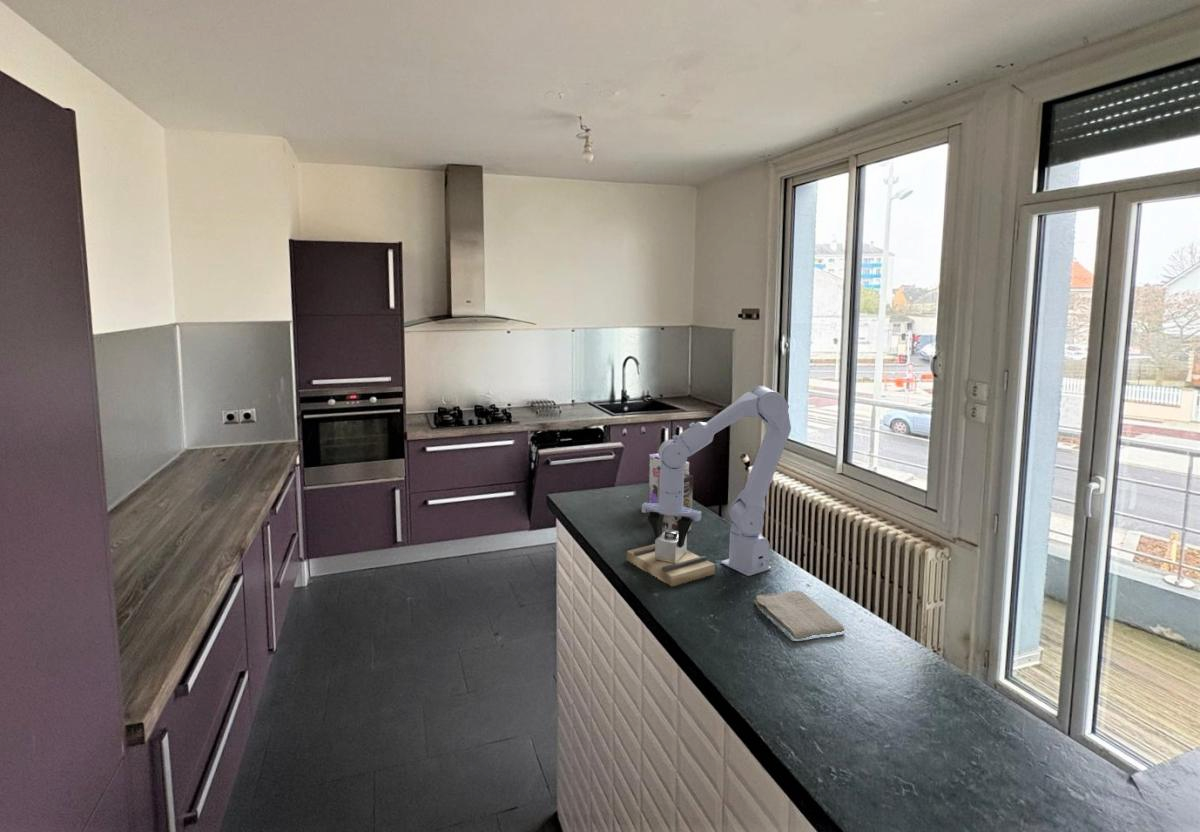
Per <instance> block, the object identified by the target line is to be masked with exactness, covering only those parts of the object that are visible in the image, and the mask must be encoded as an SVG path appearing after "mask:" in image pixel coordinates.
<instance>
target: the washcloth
mask: <svg viewBox="0 0 1200 832" xmlns="http://www.w3.org/2000/svg"><path fill="white" fill-rule="evenodd" d="M753 603H754V604H755V606H756V607H757V606H759V607H760V608H762V609H763V610H764V611H765V612H766V613H768V615H769V616H770V617H772V618H773V619H774V620H775V621H776V622H777V623H779V624H780V626H782V627H783V628H785V629H786V630H787V631H788V632H790V633H791V635H792V636H793V637H794V638H795V639H801V638H806V637H810V636H812V635H820V634H831V633H836V632H842V631H844V630H845V628H844V626H843V625H842V623H840V622H839V621H838V620H837V619H835V618H834V617H833V616H832V615H830V613H828V612H827V611H826V610H825V609H824V608H822V607H821V606H820V605H819V604H818V603H816V601H813V600H812V598H810V597H809V596H808V595H807V594H806V593H804V591H801V590H791V591H789V592H783V593H782V592H781V593H766V594H761V595H760V594H759V595H756V596H755V599H754V600H753Z"/></svg>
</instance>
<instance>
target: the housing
mask: <svg viewBox="0 0 1200 832" xmlns="http://www.w3.org/2000/svg"><path fill="white" fill-rule="evenodd" d="M678 538H679V532H678V531H675V530H668V529H667V530H666V531H665V532H663V533H662V534H661V535H660V536H659V537H658V538H657V539H656V538H655V540H654V544H655V559H656V560H661V561H666V562H671V563H676V562H677V561H678V560H679V559H680V558H681V557H682V556H683V555H684V554H685V553H686V550H688V549H687V546H688V545H687V541H688V533H687V534H686V538H685V541H684V546H682V547H681V548H680V547H679V543H678Z"/></svg>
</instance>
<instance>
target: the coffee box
mask: <svg viewBox="0 0 1200 832" xmlns="http://www.w3.org/2000/svg"><path fill="white" fill-rule="evenodd" d="M693 487H694V475H692V474H689V475H688V474H684V490H683V491H684V493H683V507H687V508H690V509H693ZM659 495H660V478H658V492H657V504H659ZM680 519H681V517H674V516H668V515H664V518H663V527H662V533H663V532H665V531H666V530H667V529H668V530H675V531H678V524H677V521H678V520H680ZM690 530H691V531H692V524H691V525H690V527H689V529H688V532H687V533H689V532H691V531H690Z"/></svg>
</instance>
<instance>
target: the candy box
mask: <svg viewBox="0 0 1200 832" xmlns="http://www.w3.org/2000/svg"><path fill="white" fill-rule="evenodd" d="M648 455H649V457H648V458H649V459H648V460H649V464H648V465H649V467H648V503H656V504H657V492H658V478H660V470H661V468H660V465H661V461H662V459H661V458H660V457H659V454H658V452H657V453H651V454H650V453H649V454H648ZM683 472H684V474H688V475H690V462H689V461H686V463H685V464H684V470H683Z"/></svg>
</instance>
